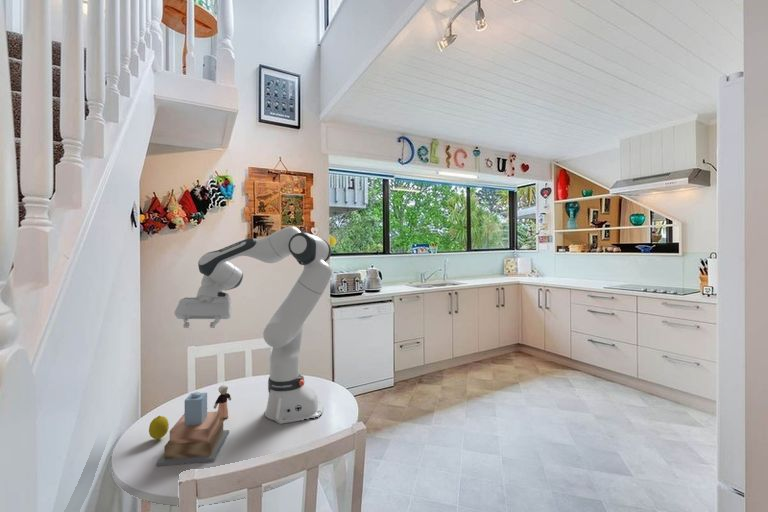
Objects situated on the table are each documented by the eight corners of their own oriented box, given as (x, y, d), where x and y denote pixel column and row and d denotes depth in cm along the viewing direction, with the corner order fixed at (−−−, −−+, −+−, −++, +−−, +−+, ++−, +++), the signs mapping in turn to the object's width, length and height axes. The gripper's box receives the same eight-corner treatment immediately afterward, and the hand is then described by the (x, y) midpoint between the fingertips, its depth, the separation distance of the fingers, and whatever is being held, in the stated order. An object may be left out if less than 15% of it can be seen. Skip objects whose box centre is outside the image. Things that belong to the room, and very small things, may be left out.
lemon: (146, 445, 111) (146, 421, 111) (152, 436, 116) (152, 413, 116) (165, 442, 112) (165, 419, 112) (170, 433, 118) (171, 411, 117)
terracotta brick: (223, 432, 117) (223, 409, 117) (210, 455, 104) (210, 430, 104) (182, 435, 115) (182, 412, 115) (164, 459, 102) (164, 433, 102)
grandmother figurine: (221, 423, 125) (221, 389, 125) (211, 422, 126) (212, 388, 125) (234, 413, 132) (234, 381, 132) (225, 412, 133) (225, 380, 133)
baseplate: (229, 432, 119) (229, 429, 119) (214, 461, 103) (214, 458, 103) (179, 436, 116) (179, 433, 116) (156, 466, 101) (156, 462, 101)
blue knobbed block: (207, 416, 112) (207, 390, 112) (201, 424, 107) (201, 396, 107) (190, 417, 112) (190, 390, 111) (184, 425, 107) (184, 397, 106)
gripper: (178, 292, 137) (167, 322, 127) (232, 293, 140) (225, 322, 131) (182, 302, 141) (172, 331, 132) (235, 302, 145) (228, 331, 135)
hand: (198, 327), depth 131 cm, fingers open, 8 cm apart
